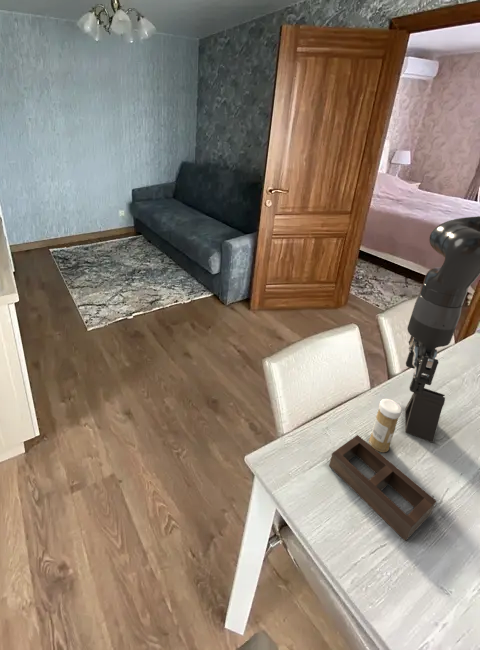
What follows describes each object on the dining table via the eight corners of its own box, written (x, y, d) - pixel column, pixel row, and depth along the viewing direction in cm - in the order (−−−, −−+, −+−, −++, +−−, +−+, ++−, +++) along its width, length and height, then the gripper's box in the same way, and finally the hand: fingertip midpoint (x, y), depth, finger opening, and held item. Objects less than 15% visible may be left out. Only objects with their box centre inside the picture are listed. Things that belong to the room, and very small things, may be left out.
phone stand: (405, 409, 98) (416, 376, 94) (430, 418, 95) (443, 385, 91) (405, 432, 91) (417, 398, 87) (432, 443, 88) (446, 408, 84)
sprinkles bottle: (392, 452, 86) (406, 412, 81) (374, 453, 86) (387, 413, 81) (381, 436, 90) (394, 397, 85) (364, 437, 90) (376, 398, 85)
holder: (353, 447, 87) (357, 434, 85) (430, 514, 73) (436, 500, 71) (328, 465, 83) (332, 452, 81) (405, 541, 68) (411, 527, 67)
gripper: (464, 342, 63) (438, 408, 69) (449, 305, 75) (428, 364, 81) (416, 330, 66) (395, 394, 73) (409, 297, 78) (391, 354, 84)
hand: (412, 378), depth 77 cm, fingers open, 8 cm apart
